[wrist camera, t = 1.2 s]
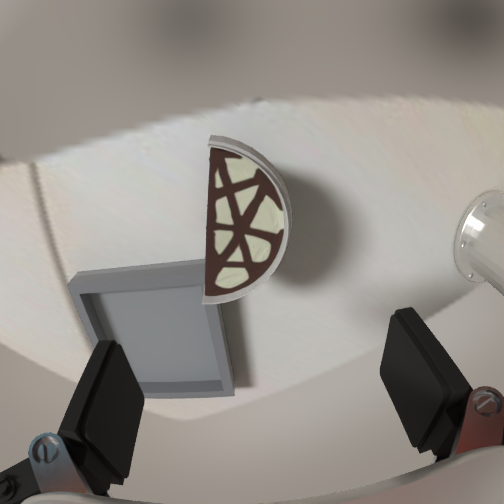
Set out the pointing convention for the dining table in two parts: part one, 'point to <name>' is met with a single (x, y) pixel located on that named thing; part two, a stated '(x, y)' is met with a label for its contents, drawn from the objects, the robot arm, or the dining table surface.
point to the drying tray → (159, 326)
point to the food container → (243, 221)
